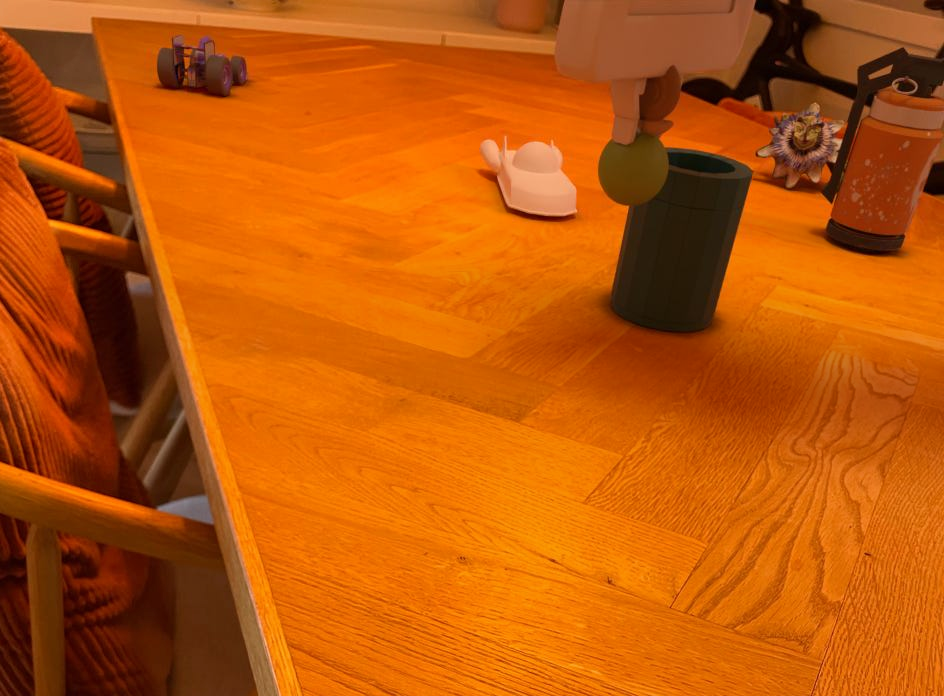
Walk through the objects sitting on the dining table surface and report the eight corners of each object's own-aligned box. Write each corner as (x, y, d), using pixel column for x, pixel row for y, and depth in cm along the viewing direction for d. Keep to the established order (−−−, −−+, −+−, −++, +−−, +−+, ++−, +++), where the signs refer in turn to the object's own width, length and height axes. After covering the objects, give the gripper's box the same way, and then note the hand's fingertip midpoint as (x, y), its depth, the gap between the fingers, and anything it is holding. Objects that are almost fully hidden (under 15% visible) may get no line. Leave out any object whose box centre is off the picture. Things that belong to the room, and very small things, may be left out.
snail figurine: (602, 186, 82) (635, 18, 74) (670, 208, 79) (711, 35, 72) (568, 197, 78) (599, 21, 71) (639, 219, 76) (678, 39, 68)
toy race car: (257, 81, 152) (256, 32, 148) (221, 99, 140) (219, 46, 136) (198, 72, 152) (195, 23, 148) (157, 88, 141) (153, 35, 137)
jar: (730, 318, 93) (772, 170, 85) (677, 340, 87) (716, 184, 79) (646, 286, 97) (678, 142, 89) (589, 305, 91) (618, 153, 83)
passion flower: (777, 228, 140) (750, 149, 133) (777, 194, 147) (751, 117, 140) (861, 194, 134) (836, 109, 127) (856, 160, 141) (833, 78, 134)
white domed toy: (499, 217, 110) (506, 161, 106) (477, 169, 125) (482, 118, 122) (589, 224, 112) (599, 169, 108) (556, 176, 127) (564, 126, 123)
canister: (898, 261, 114) (973, 64, 101) (802, 241, 116) (863, 45, 104) (900, 242, 121) (970, 55, 108) (809, 223, 123) (868, 37, 110)
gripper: (634, -81, 59) (590, 166, 68) (788, -68, 72) (735, 138, 81) (551, -95, 62) (519, 143, 71) (714, -81, 75) (670, 120, 84)
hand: (635, 140), depth 76 cm, fingers closed on snail figurine
